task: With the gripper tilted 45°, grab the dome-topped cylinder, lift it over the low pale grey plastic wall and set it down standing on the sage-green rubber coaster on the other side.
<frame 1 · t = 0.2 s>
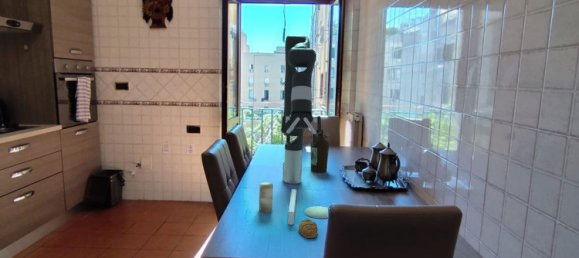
hand: (301, 145, 128), 31 cm above the table, tool tilted 20°, fingers open, 8 cm apart
olive oil: (318, 171, 210), on the table
wall: (292, 211, 148), on the table
dome-topped cylinder: (265, 209, 149), on the table
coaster: (319, 212, 148), on the table
pastry: (308, 233, 130), on the table
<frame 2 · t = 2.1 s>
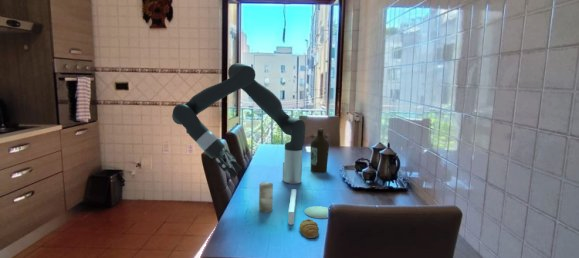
hand: (238, 173, 147), 15 cm above the table, tool tilted 45°, fingers open, 8 cm apart
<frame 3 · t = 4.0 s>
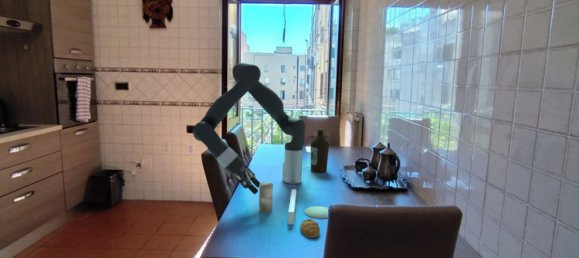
hand: (258, 189, 148), 9 cm above the table, tool tilted 45°, fingers open, 8 cm apart
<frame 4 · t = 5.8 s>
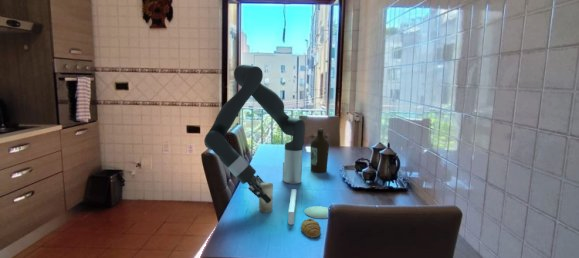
hand: (270, 199, 148), 5 cm above the table, tool tilted 45°, fingers closed on dome-topped cylinder, 5 cm apart
dome-topped cylinder: (265, 209, 149), on the table, touching gripper
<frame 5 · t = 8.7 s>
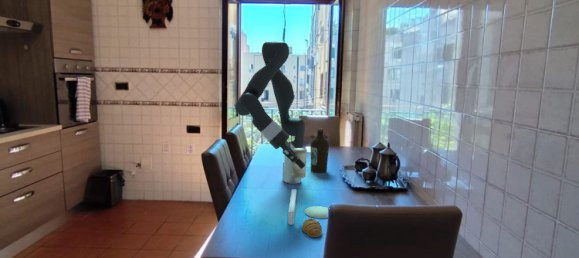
hand: (303, 164, 145), 20 cm above the table, tool tilted 45°, fingers closed on dome-topped cylinder, 5 cm apart
dome-topped cylinder: (298, 176, 146), point 15 cm above the table, touching gripper
when the fingers open (7 cm above the table, at t = 11.9 s): dome-topped cylinder drops 2 cm, resting on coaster.
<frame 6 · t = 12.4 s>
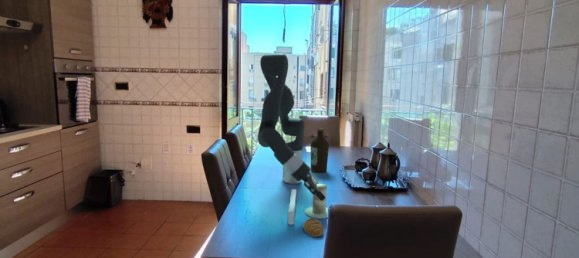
hand: (323, 195, 146), 7 cm above the table, tool tilted 45°, fingers open, 8 cm apart
dome-topped cylinder: (319, 211, 148), resting on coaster
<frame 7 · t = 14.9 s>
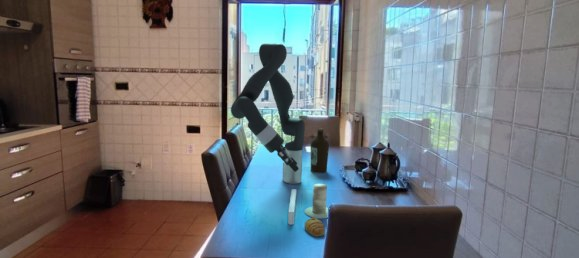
hand: (296, 167, 147), 18 cm above the table, tool tilted 45°, fingers open, 8 cm apart
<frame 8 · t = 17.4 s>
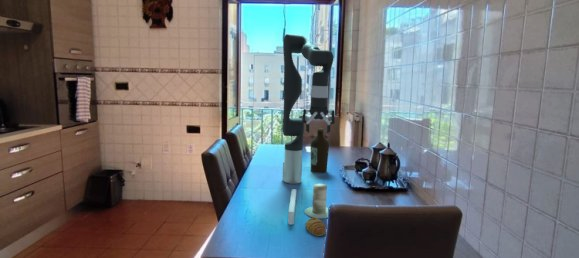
hand: (317, 132, 161), 30 cm above the table, tool pointing down, fingers open, 8 cm apart
at the end: dome-topped cylinder 0.1 cm from the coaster (horizontally); dome-topped cylinder tilted 0°; the gripper is holding nothing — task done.
